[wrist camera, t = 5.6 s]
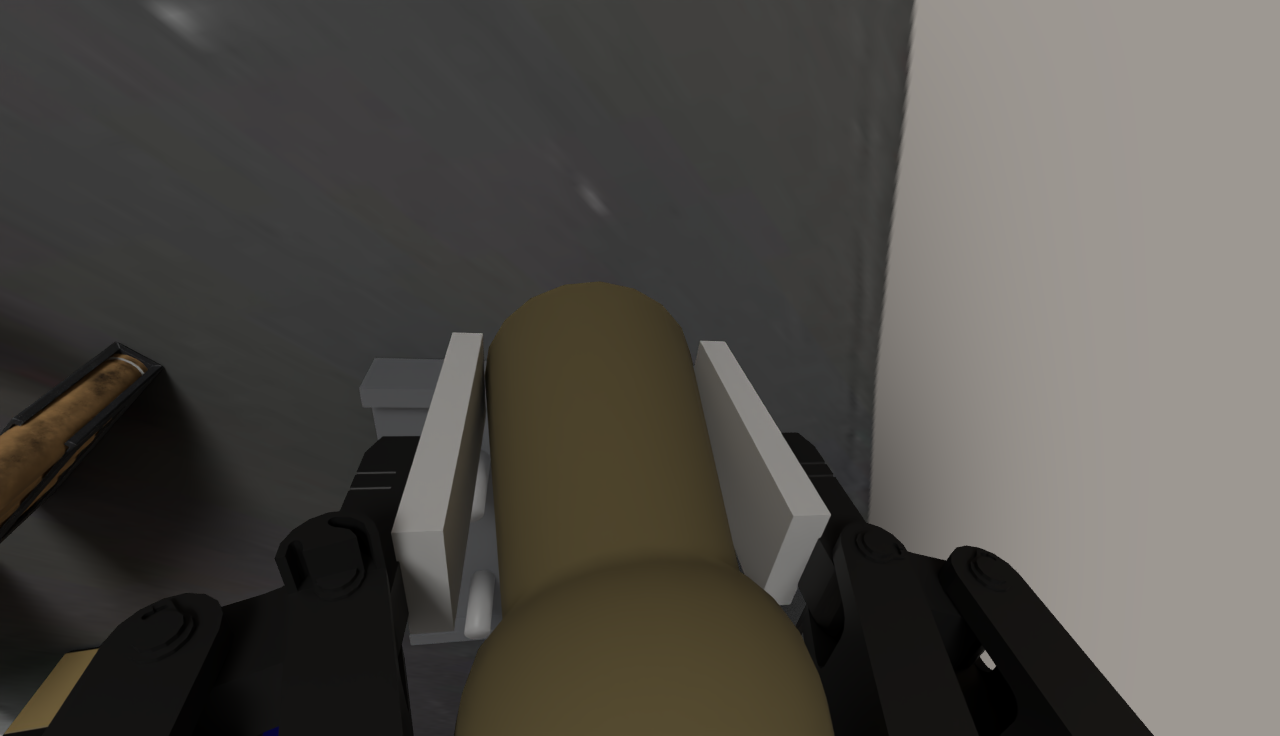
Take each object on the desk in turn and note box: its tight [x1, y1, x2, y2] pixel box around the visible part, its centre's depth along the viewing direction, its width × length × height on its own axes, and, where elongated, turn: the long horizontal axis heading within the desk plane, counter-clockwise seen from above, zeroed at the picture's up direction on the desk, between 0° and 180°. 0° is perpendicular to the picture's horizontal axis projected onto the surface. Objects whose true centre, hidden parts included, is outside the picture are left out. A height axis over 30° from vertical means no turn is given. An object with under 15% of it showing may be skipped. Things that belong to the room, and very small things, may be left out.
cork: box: [454, 282, 835, 736], centre depth 10 cm, size 6×6×11 cm
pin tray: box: [359, 358, 695, 645], centre depth 29 cm, size 20×16×5 cm
